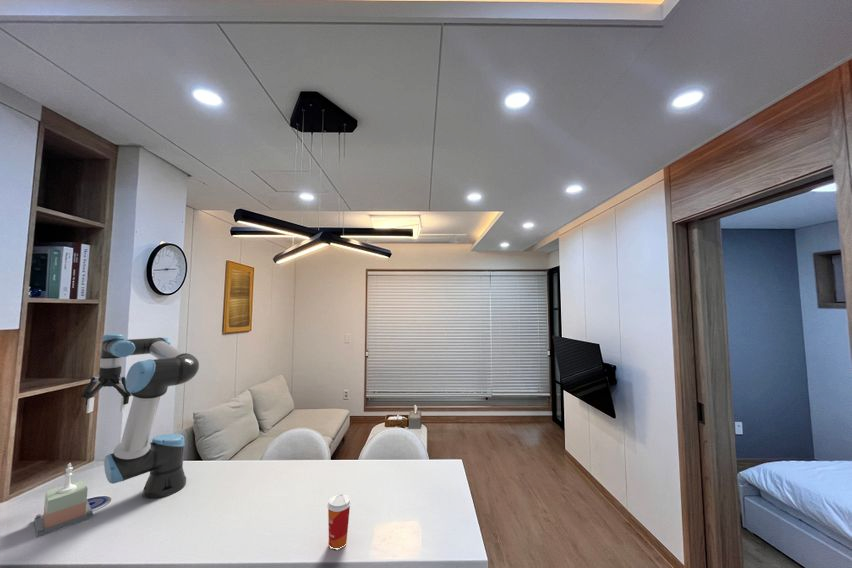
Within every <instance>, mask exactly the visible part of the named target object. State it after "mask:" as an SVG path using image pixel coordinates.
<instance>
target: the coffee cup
mask: <svg viewBox="0 0 852 568" xmlns="http://www.w3.org/2000/svg"><path fill="white" fill-rule="evenodd" d="M351 504H352V501H351V498H350V496H349V495H347V494H336V495H333V496H331V497H330V499H329V500H328V503H327V505H326V506H327V509H328V512H327V513H328V515H327V516H328V521H327V522H328V546H329V545H330V546H331V547H333V548H340V547H342V546H344V545H345V544H346V545H347V540H348V530H349V529H348V528H349V520H350V519H349V518H350V509H351V508H350V507H351ZM346 545H345V546H346Z"/></svg>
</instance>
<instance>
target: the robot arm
mask: <svg viewBox="0 0 852 568" xmlns="http://www.w3.org/2000/svg"><path fill="white" fill-rule="evenodd" d="M100 351H101V352H100V361H99V367H100V368H99V371H98V375H99V376H93V377H91V378H90V382H89V383H88V385H87V386H86V388H85V389H84V391H83V392H82V394H80V397H81V398H85V406H86V414H90V413H91V412H94V406H95V397H94V396H95V395H96V394H97V393H98V392H99V391H100V390H101V389H102V388H103V387H104V388H106V387H108V388H111V387H113V388H115V389H116V391H117V392H118V393H119V394H120V395H121V396H122V397H121V399H120V406H119V407H120V408H119V413H123V412H125V411H127V405H128V404H129V400H130V397H132V399H131V404H130V407H129V411H128V415H127V419H126V423H125V426H124V431H123V433H122V438H121V441H120V443H118V444H117V445H115V447H114V449H113V453H109V454H108V455H106V456H105V457H104V459H103V462H104V463H103V467H104V473H105V474H104V475H105V477H106V480H107V482H108V483H109V484H118V483H121V482H125V481H127V480H130V479H132V478H135V477H139V476H142V475H144V474H146V473H149V476H148V478H147V479H146V482H145V485H144V487H143V490H142V496H143V497H144V498H147V499H158V498H163V497H167V496H170V495H173V494H175V493H177V492H178V491H180V490H182V489H183V488H184V487H185V486H186V485H187V476H186V474H185V471H184V466H183V464H184V453H185V446H186V445H185V436H184V435H182V434H177V433H166V434H159V435H157V436H155V437H153V438H152V440H151V442H150V441H149V438H150V435H151V432H152V428H153V424H154V420H155V417H156V413H157V411H158V407H159V404H160V400H161V397H163V396H164V395H166V393H167V391H168V388H169V387H171V386H172V387H173V386H178V385H182V384H186V383H187V382H189V381H191V380H192V379H193V378H194V377H195V376H196V375H197V373H198V371H199V367H200V364H199V360H198V358H197V357H196V356H194V355H192V354H190V353H187V352H185V353H184V352H182V351H181V350H179V349H178V348H176V347H174V346H173V345H171V340H170V338H168V337H151V338H150V337H148V338H135V339H134V338H133V339H130V338H129V339H125V334H123V333H109V334H104V335H103V337H102V340H101V350H100ZM147 354H150V355H152V356H153V357H154V358H156V359H146V360H145V359H144V360H138V361H137V362H134V363H133V364H132V365H131V366H130V367H129V369H128V371H127V374H126V375H125V376H121V374H122V364H123V358H126V357H129V356H137V355H147ZM97 382H99V383H98V384H97ZM95 385H96V387H95ZM93 388H94V389H93Z"/></svg>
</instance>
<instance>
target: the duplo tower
mask: <svg viewBox="0 0 852 568" xmlns="http://www.w3.org/2000/svg"><path fill="white" fill-rule="evenodd" d="M71 484H74V485H76V489H74V490H72V491H70V492H66V493H58V490H59V489H60V488H62V487H63V486H64V485H63V486H62V485H61V486H59V487H55V488H52V489H48V490H45V493H44V494H45V496H44V505H43V514H42V513H39V514H36V516H35V517H34V521H33V522H34V523H33V524H34V529H35V534H36V535H37V536H36V535H35V536H36V538H39V537H42V536H44V535H48V534H50V533H53V532H56V531H58V530H59V531H60V530H62V529H65V528H67V527H71V526H73V525H76V524H77V523H81V522H83V521H86V520H89V519H92V518H94V512H93V510H92V508H91V505H90V503H89V500H88V498H87V497H88V491H89V490H88V489H89V488H88V487H87V485H86V482H85V480H84V479H83V480H80V481H76V482H71ZM38 536H39V537H38Z"/></svg>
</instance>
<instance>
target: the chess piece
mask: <svg viewBox="0 0 852 568" xmlns="http://www.w3.org/2000/svg"><path fill="white" fill-rule="evenodd" d="M66 466H67V468H66V467H65V473H66V474H64V477H66V478H65V483H64V485H63V487H62V486H61V487H62V488H60V489H59V490H58V493H66V492H70V491H72V490H74V489H76V485H74V484H72V482H71V481H72V480H71V476H72V475H73V473H72V472H73V470H74V467H73V464H72V463H71V462H69V463H68V464H67V465H66Z"/></svg>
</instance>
